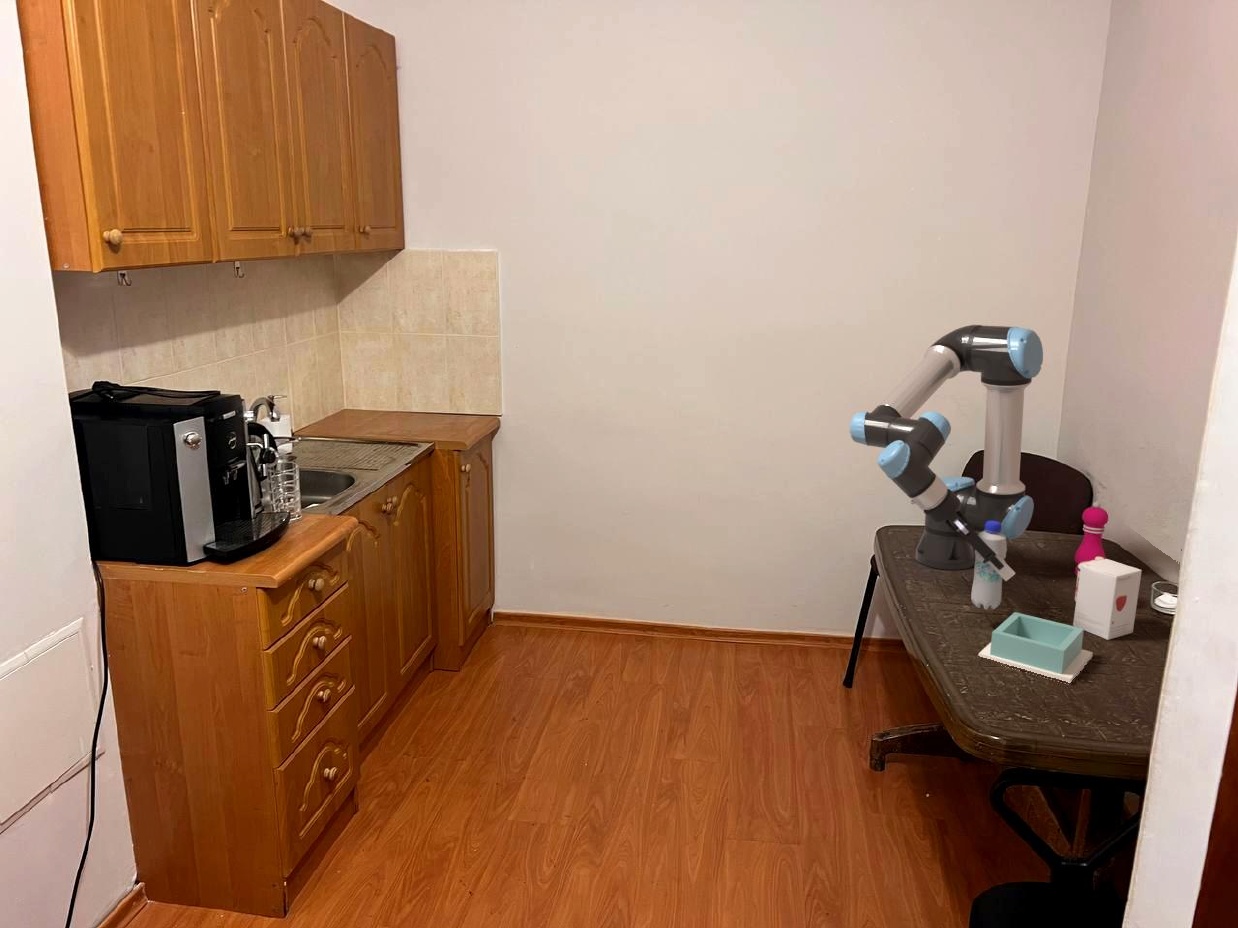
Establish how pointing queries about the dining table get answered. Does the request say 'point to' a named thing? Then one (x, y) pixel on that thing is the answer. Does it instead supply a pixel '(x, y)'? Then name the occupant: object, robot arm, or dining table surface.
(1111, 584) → the supplement box
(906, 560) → the dining table surface
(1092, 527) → the magenta tall rounded piece
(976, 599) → the bottle
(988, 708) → the dining table surface
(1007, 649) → the holder
